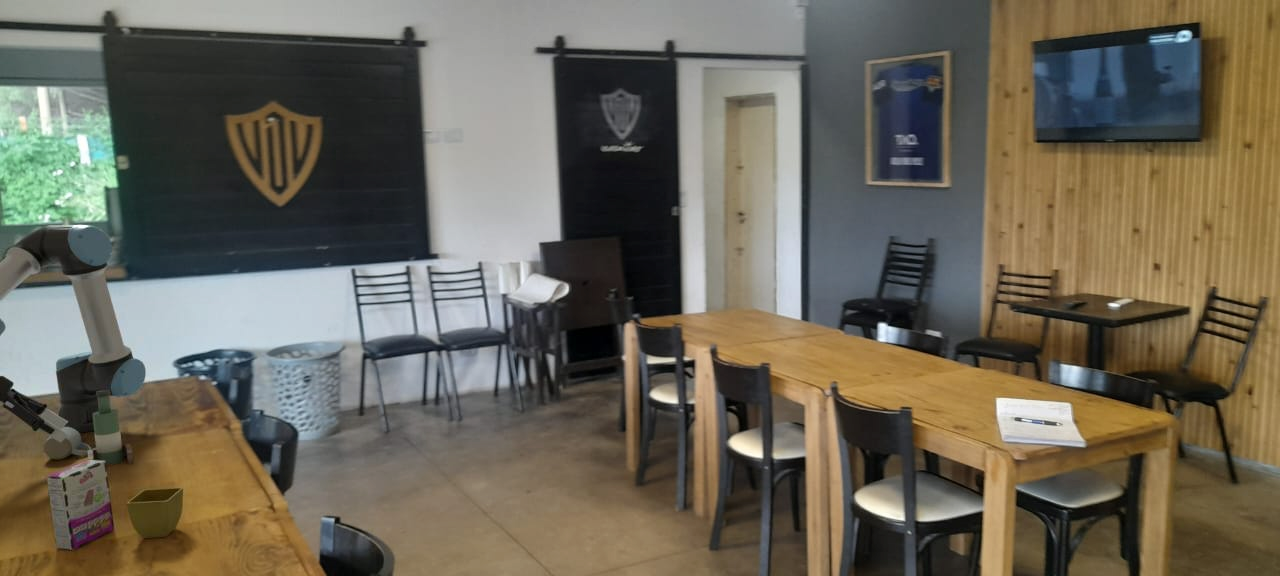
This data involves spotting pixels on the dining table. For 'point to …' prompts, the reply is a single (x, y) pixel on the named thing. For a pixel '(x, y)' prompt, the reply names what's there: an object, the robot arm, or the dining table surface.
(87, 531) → the candy bar box
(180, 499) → the flower pot
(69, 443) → the ceramic mug
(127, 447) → the u rest
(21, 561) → the dining table surface
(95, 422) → the bottle
